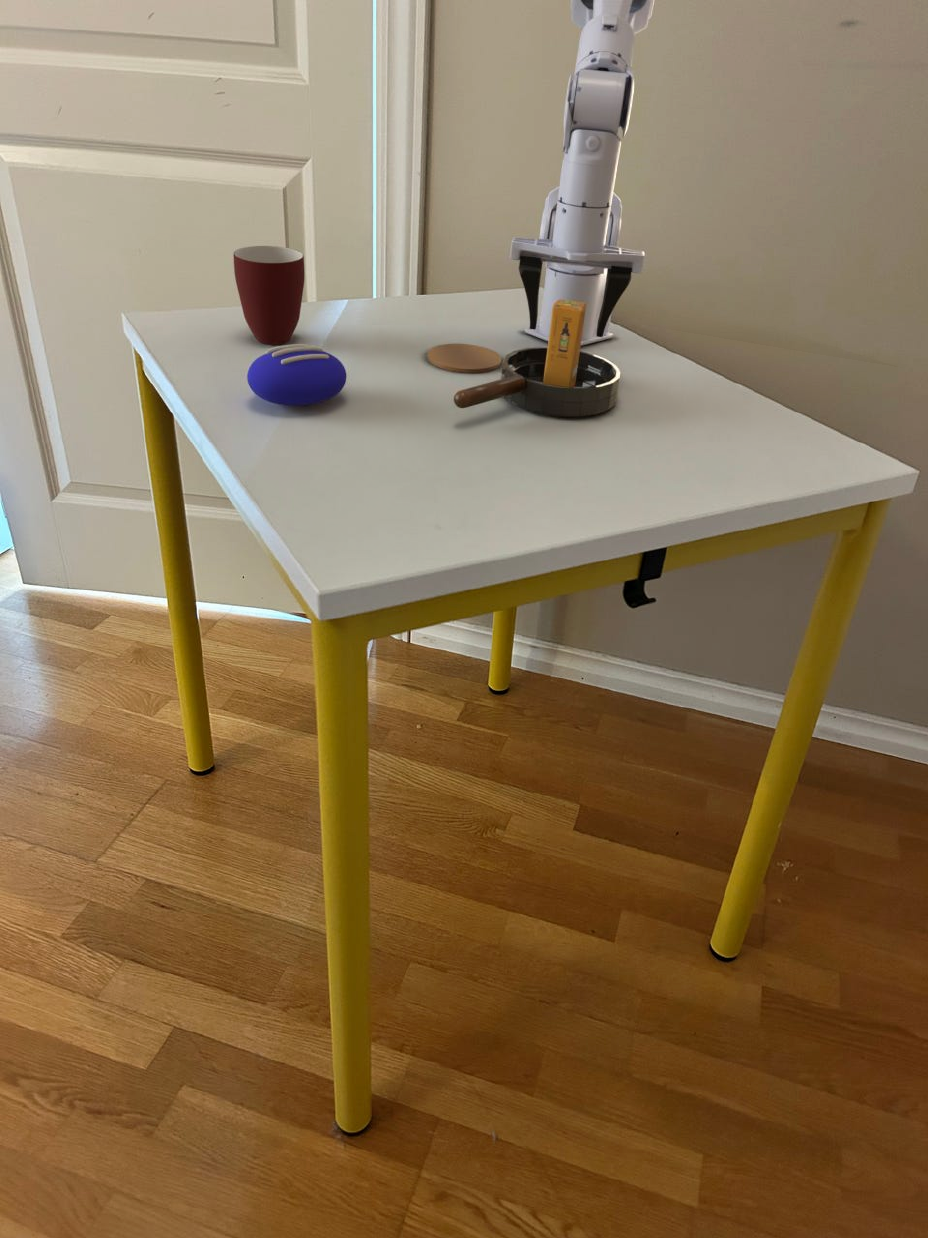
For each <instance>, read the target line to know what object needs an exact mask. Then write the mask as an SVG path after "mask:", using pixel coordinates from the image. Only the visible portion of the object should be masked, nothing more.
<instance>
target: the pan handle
mask: <svg viewBox="0 0 928 1238" xmlns="http://www.w3.org/2000/svg"><path fill="white" fill-rule="evenodd" d="M525 386H526V382H525V379H524V378H523V377H522V376H520V375H515V376H512V377H508V378H504V379H501V378H500V379H498V380H494V381H490V382H486V383H482V384H479V385H475V386H471V387H468V388H463V389H460V390H458V391H456V393H455V394H454V396H453V403H454V405H455V406H456V407H457V408H459V409H467V408H470V407H473V406H477V405H480V404H484V403H487V402H491V401H495V400H497V399H501V398H506V397H505V396H509V395H512V394H515V393H519V392H521V391H523V390H524V388H525Z"/></svg>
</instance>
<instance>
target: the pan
mask: <svg viewBox="0 0 928 1238" xmlns="http://www.w3.org/2000/svg"><path fill="white" fill-rule="evenodd" d="M547 349H548V346H533V347H524V348H520V349H516V350H513V351H511V352H510V353H508V354H506V355H505V356H504V358H503V361H502V364H501V376H500V380H501V379H504V378H508V377H512V376H515V375H520V376H522V377H523V378H524V379H525V382H526V386H525V388H524V390H523V391H521V392H519V393H515V394H512V395H509V396H505V397H504V398H506V399H507V400H508V401H509V402H511V403H513V404H514V405H515V406H518V407H520V408H522V409H525V410H527V411H530V412H532V413H536V414H540V415H544V416H551V417H558V418H584V417H590V416H595V415H598V414H601V413H604V412H606V411H608V410H610V409H611V408H612V407H613V406H615V405H616V401H617V394H618V391H619V390H618V388H619V383H620V378H621V370H620V369H619V368H618V366H617V365H616V364H615V363H613V362H611V361H610V360H609V359H607V358H605V357H602V356H599V355H598V354H594V353H591V352H587V351H583V350H580V353H579V361H578V367H577V374H576V381H575V387H565V386H558V385H551V384H545V383H543V379H544V372H545V364H546V356H547Z"/></svg>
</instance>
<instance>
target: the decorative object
mask: <svg viewBox="0 0 928 1238" xmlns="http://www.w3.org/2000/svg"><path fill="white" fill-rule="evenodd" d="M347 376H348V375H347V371H346V368H345V366H344V364H343V363H342V362H341V361H340V360H339V358H338V357H336V356H335V355H333V354H331V353H329V352H326V351H324V350H323V348H322V347H320V346H314V345H312V344H308V343H294V344H293V343H292V344H285V345H284V344H283V345H279V346H278V345H277V346H274V347H271V348H268V349H267V350H265V353H264V354H262V355H259V357H257V358H256V359H254V361H253V362H252V363H251V364H250V366H249V367H248V370H247V375H246V379H247V384H248V386H249V388H250V390H251V391H252V393H254V394H255V395H256V396H257V397H259V398H260V399H261V400H264V401H266V402H268V403H271V404H275V405H279V406H289V407H301V406H311V405H316V404H320V403H323V402H326V401H328V400H330V399H333V398H334V397H336V396H337V395H339V394H340V392H341V391H342V390H343V389H344V387H345V385H346V382H347Z"/></svg>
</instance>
